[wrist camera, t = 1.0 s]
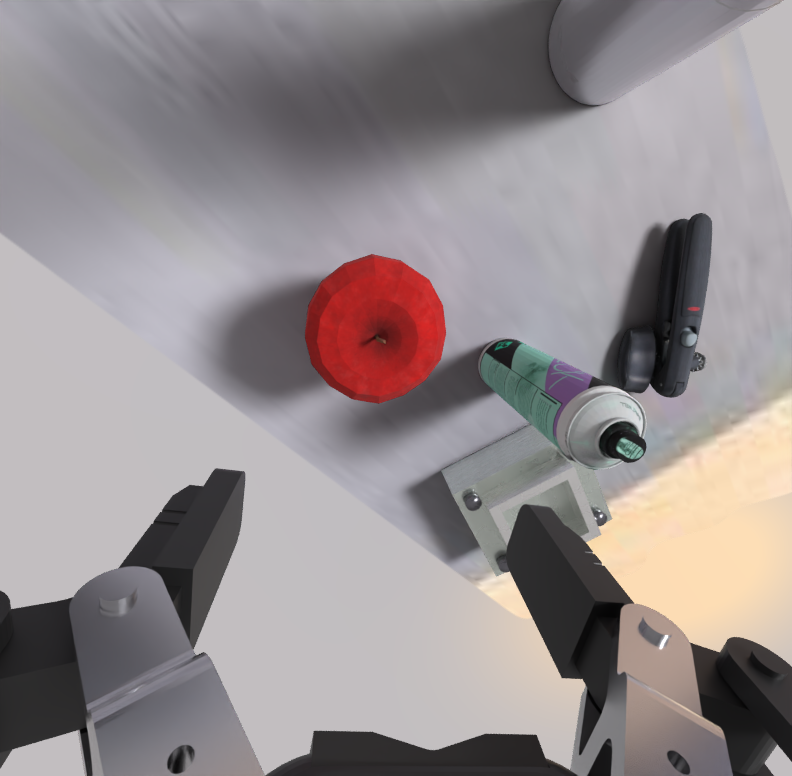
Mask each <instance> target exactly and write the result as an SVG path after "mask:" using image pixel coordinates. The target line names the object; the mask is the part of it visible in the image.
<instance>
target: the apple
mask: <svg viewBox="0 0 792 776" xmlns="http://www.w3.org/2000/svg"><path fill="white" fill-rule="evenodd" d="M445 336H446V328H445V320H444V311H443V305H442V303H441V301H440V299H439V297H438V295H437V294H436V292H435V290H434V288H433V286H432V284H431V282H430V280H429V279H427V278H426V277H424V276H423V275H421V274H420V273H418V272H417V271H415V270H414V269H412V268H411V267H409V266H408V265H406V264H405V263H403V262H402V261H401V260H396V259H391V258H387V257H382V256H377V255H373V254H371V255H368V256H365V257H362V258H359V259H356V260H353V261H350V262H347V263H344V264H343V265H342V266H340V267H339V268H338V269H336V270H335V271H334V272H333V273H331V274H330V275H329V276H328V277H326V278H325V279H324V280H322V281H321V283H320V285H319V287H318V289H317V291H316V292H315V294H314V296H313V298H312V300H311V302H310V304H309V305H308V313H307V321H306V329H305V339H306V343H307V347H308V351H309V355H310V359H311V363H312V365H313V367H314V368H315V369H316V370H317V371H318V373H319V374H320V375H321V376H322V377H323V379H324V380H325V381H326V382H327V384H328V385H329V386H331V387H333V388H334V389H336V390H338V391H339V392H341V393H343V394H344V395H346V396H348V397H349V398H351V399H354V400H360V401H366V402H372V403H378V404H379V403H382V402H385V401H388V400H391V399H394V398H397V397H400V396H403V395H405V394H406V393H408V392H409V391H410V390H412V389H413V388H415V387H416V386H418V385H419V384H421V383H422V382H424V381H425V380H426V379H427V377H428V376H429V374H430V373H431V372H432V370H433V369H434V368H435V366H436V365H437V364H438V362H439V361H440V360H441V356H442V351H443V346H444V341H445Z"/></svg>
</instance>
